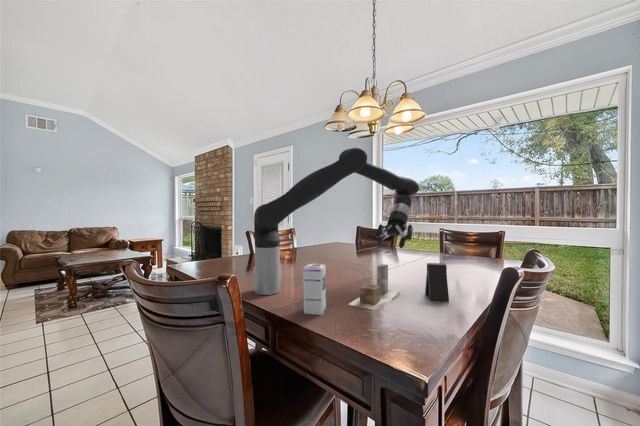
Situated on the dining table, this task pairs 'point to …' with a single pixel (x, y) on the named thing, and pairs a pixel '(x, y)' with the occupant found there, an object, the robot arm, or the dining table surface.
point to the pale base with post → (384, 292)
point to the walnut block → (369, 294)
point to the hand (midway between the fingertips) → (389, 246)
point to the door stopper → (437, 282)
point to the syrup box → (314, 288)
